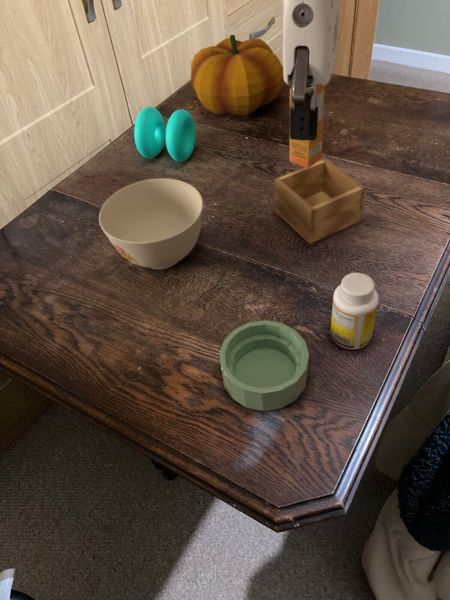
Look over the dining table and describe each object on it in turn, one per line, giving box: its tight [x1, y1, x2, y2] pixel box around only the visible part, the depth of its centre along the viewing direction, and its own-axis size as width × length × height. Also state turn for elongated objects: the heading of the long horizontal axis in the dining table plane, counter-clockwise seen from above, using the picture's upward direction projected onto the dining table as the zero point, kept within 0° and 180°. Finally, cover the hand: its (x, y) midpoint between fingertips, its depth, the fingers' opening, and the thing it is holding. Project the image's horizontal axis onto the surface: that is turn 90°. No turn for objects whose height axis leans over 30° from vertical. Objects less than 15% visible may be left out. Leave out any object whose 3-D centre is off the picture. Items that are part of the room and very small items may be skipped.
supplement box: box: [289, 79, 326, 168], centre depth 61 cm, size 3×4×10 cm
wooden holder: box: [273, 158, 366, 245], centre depth 83 cm, size 11×11×7 cm
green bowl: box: [218, 319, 310, 412], centre depth 63 cm, size 11×11×4 cm
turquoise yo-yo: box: [133, 106, 196, 163], centre depth 100 cm, size 10×10×10 cm
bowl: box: [98, 177, 204, 270], centre depth 79 cm, size 16×16×10 cm
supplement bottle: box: [329, 272, 379, 350], centre depth 64 cm, size 6×6×10 cm
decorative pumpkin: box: [190, 34, 285, 116], centre depth 111 cm, size 20×22×15 cm
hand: (306, 126), depth 61 cm, fingers closed on supplement box, 4 cm apart
